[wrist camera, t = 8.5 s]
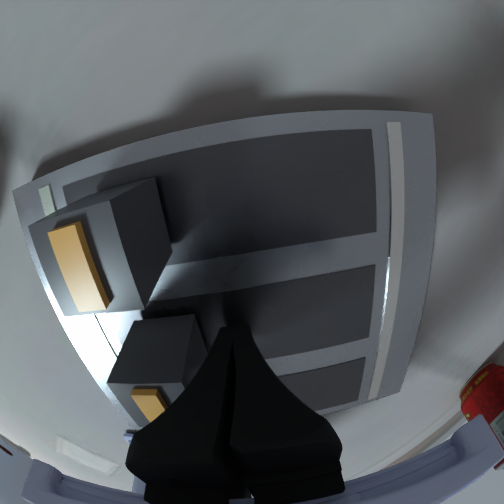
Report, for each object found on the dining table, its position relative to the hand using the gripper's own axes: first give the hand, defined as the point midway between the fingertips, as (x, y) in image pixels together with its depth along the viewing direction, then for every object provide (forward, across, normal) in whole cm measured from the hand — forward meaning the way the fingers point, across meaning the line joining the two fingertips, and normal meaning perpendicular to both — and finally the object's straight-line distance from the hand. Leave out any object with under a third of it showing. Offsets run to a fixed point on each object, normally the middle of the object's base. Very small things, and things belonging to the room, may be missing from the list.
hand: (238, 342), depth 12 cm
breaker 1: (0, +3, -6) cm, 7 cm away
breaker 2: (0, +3, 0) cm, 3 cm away
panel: (+2, 0, 0) cm, 2 cm away
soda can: (+3, -24, +17) cm, 30 cm away
